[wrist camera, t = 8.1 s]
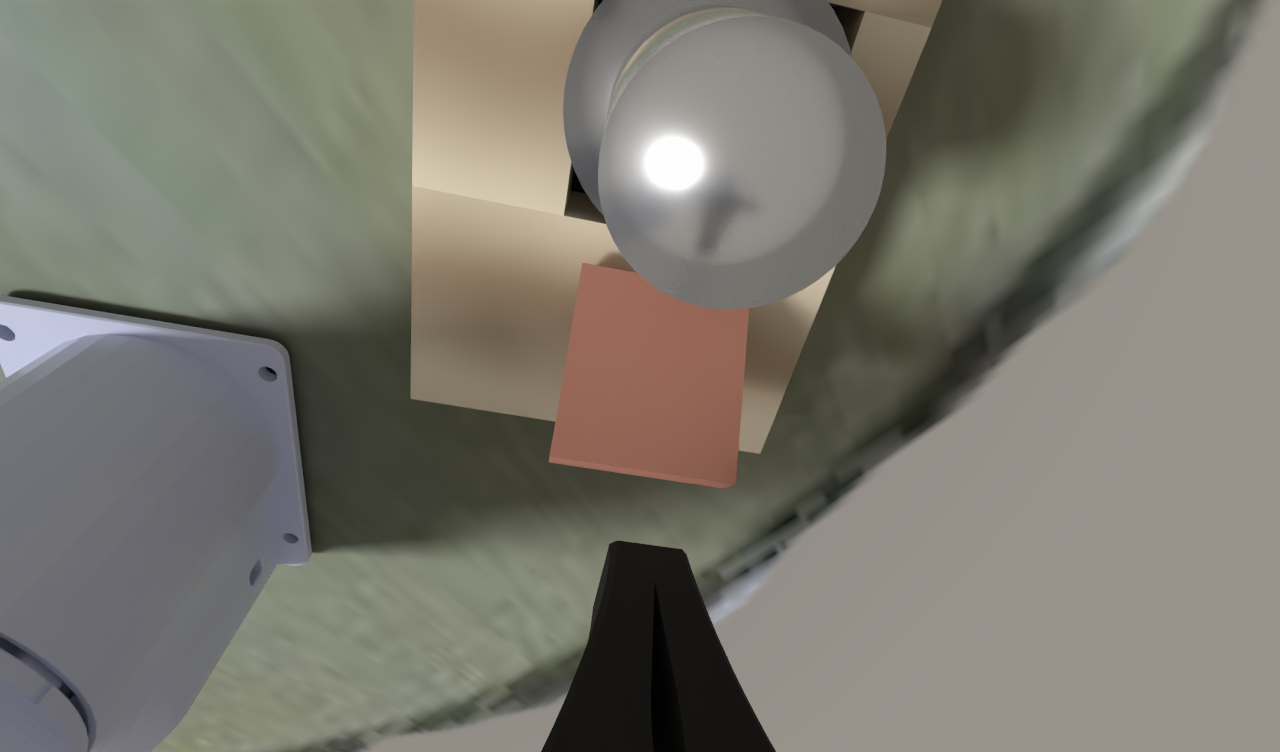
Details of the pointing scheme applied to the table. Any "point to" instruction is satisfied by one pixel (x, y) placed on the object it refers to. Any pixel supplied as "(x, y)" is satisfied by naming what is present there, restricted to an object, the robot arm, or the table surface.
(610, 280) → the latch tab
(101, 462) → the robot arm
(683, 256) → the silver knob
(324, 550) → the table surface
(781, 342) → the hitch block
